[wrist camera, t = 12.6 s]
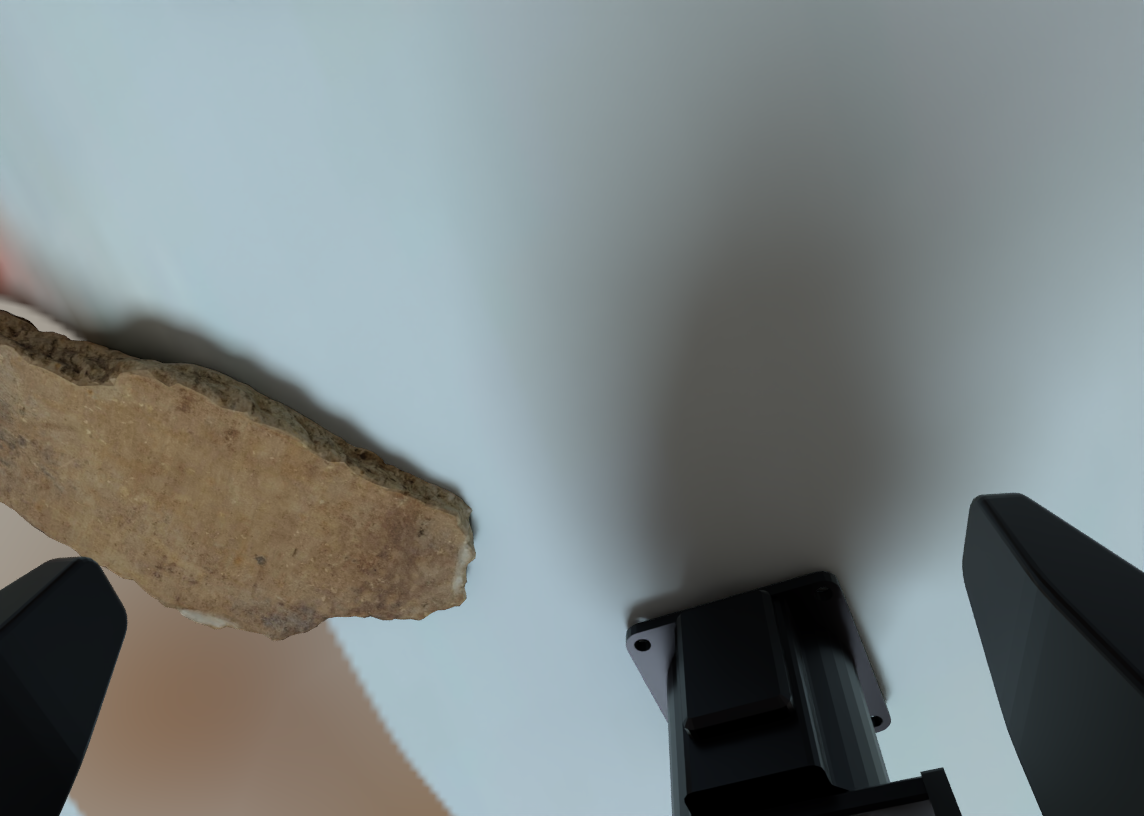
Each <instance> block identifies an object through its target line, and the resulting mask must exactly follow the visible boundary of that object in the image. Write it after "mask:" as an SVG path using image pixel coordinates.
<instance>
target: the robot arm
mask: <svg viewBox="0 0 1144 816" xmlns="http://www.w3.org/2000/svg"><path fill="white" fill-rule="evenodd" d="M962 569H963V577H964V583H965V587H966V590H967V594H968V597H969V601H970V604H971V607H972V611H973V614H974V618H975V621H976V625H977V628H978V632H979V635H980V638H981V642H982V645H983V649H984V652H985V656H986V659H987V663H988V666H989V670H990V673H991V676H992V680H993V683H994V687H995V690H996V694H997V697H998V701H999V704H1000V707H1001V711H1002V714H1003V717H1004V720H1005V723H1006V726H1007V730H1008V732H1009V735H1010V738H1011V740H1012V743H1013V745H1014V748H1015V750H1016V753H1017V756H1018V758H1019V760H1020V763H1021V765H1022V767H1023V770H1024V772H1025V775H1026V777H1027V779H1028V782H1029V784H1030V786H1031V789H1032V791H1033V793H1034V796H1035V798H1036V801H1037V803H1038V805H1039V808H1040V810H1041V812H1042V815H1043V816H1144V572H1142V571H1141V570H1139V569H1138V568H1136V567H1135V566H1133V565H1132V564H1130V563H1129V562H1127V561H1126V560H1124V559H1122V558H1121V557H1119V556H1118V555H1116V554H1115V553H1113V552H1112V551H1110V550H1109V549H1107V548H1106V547H1104V546H1102V545H1101V544H1099V543H1098V542H1096V541H1095V540H1093V539H1092V538H1090V537H1089V536H1087V535H1086V534H1084V533H1082V532H1081V531H1079V530H1078V529H1076V528H1075V527H1073V526H1072V525H1070V524H1069V523H1067V522H1066V521H1064V520H1062V519H1061V518H1059V517H1058V516H1056V515H1055V514H1053V513H1052V512H1050V511H1049V510H1047V509H1046V508H1044V507H1042V506H1041V505H1039V504H1038V503H1036V502H1035V501H1033V500H1032V499H1030V498H1029V497H1027V496H1025V495H1023V494H1020V493H1001V494H986V495H979V496H977V497H976V498H974V499H973V501H972V503H971V505H970V509H969V516H968V523H967V530H966V537H965V544H964V552H963V560H962ZM824 587H826V588H828V589H827V590H825V591H823V592H818V591H816V590H818V589H819V588H824ZM126 630H127V614H126V610H125V608H124V606H123V604H122V602H121V601H120V599H119V597H118V596H117V594H116V592H115V591H114V589H113V587H112V585H111V584H110V582H109V580H108V579H107V577H106V575H105V574H104V572H103V570H102V569H101V567H100V565H99V564H98V563H97V562H96V561H94V560H93V559H92V558H89V557H83V556H82V557H68V558H57V559H52V560H49V561H47V562H45V563H43V564H42V565H40V566H38V567H37V568H35V569H34V570H32V571H30V572H29V573H27V574H26V575H24V576H22V577H21V578H19V579H18V580H16V581H14V582H13V583H11V584H10V585H8V586H6V587H5V588H3V589H2V590H0V816H59V815H60V813H61V811H62V808H63V806H64V804H65V802H66V799H67V797H68V795H69V793H70V790H71V788H72V786H73V783H74V781H75V778H76V776H77V774H78V771H79V769H80V767H81V764H82V761H83V759H84V756H85V753H86V750H87V748H88V745H89V742H90V739H91V736H92V733H93V730H94V727H95V724H96V721H97V718H98V715H99V712H100V709H101V706H102V703H103V700H104V697H105V694H106V691H107V688H108V685H109V682H110V679H111V676H112V673H113V670H114V667H115V664H116V661H117V658H118V655H119V652H120V649H121V647H122V644H123V641H124V638H125V634H126ZM639 639H646V640H648V641H646V642H640V641H637V640H639ZM626 647H627V650H628V652H629V654H630V656H631V657H632V659H633V661H634V663H635V665H636V666H637V668H638V670H639V672H640V674H641V675H642V677H643V679H644V681H645V683H646V684H647V686H648V688H649V690H650V692H651V694H652V695H653V697H654V699H655V701H656V703H657V704H658V706H659V708H660V710H661V712H662V713H663V715H664V717H665V719H666V721H667V722H668V731H669V754H670V777H671V800H672V816H962V815H961V812H960V810H959V807H958V805H957V802H956V799H955V797H954V794H953V792H952V789H951V787H950V784H949V781H948V779H947V776H946V774H945V771H944V768H943V767H942V768H938V769H933V770H928V771H923V772H920V773H921V776H920V777H915V778H910V779H905V780H900V781H895V782H890V780H889V777H888V774H887V770H886V767H885V764H884V760H883V757H882V754H881V750H880V747H879V744H878V740H877V737H876V734H875V733H877V732H880V731H883V730H885V729H886V728H887V727H888V726H889V725H890V723H891V718H890V714H889V711H888V708H887V706H886V703H885V700H884V698H883V695H882V693H881V690H880V687H879V685H878V682H877V680H876V677H875V674H874V672H873V669H872V667H871V664H870V661H869V659H868V656H867V654H866V651H865V648H864V646H863V643H862V641H861V638H860V636H859V633H858V630H857V628H856V625H855V623H854V620H853V617H852V615H851V612H850V610H849V607H848V604H847V602H846V599H845V597H844V594H843V591H842V589H841V586H840V584H839V581H838V579H837V578H836V576H835V575H833V574H831V573H830V572H824V571H821V572H815V573H811V574H808V575H805V576H801V577H798V578H794V579H791V580H787V581H784V582H780V583H777V584H773V585H770V586H766V587H763V588H759V589H756V590H753V591H749V592H746V593H742V594H739V595H735V596H732V597H728V598H725V599H721V600H718V601H714V602H711V603H707V604H704V605H701V606H697V607H694V608H690V609H687V610H683V611H680V612H676V613H673V614H669V615H666V616H662V617H659V618H655V619H652V620H649V621H645V622H642V623H638V624H635V625H633V626H631V627H630V628H629V629H628V630H627V633H626ZM871 716H874V717H871Z"/></svg>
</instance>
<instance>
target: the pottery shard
mask: <svg viewBox="0 0 1144 816" xmlns="http://www.w3.org/2000/svg"><path fill="white" fill-rule="evenodd" d="M0 502H2V503H4V504H5V505H7V506H9V507H10V508H12V509H13V510H15V511H16V512H17V513H18V514H19V515H20V516H21V517H23V518H24V519H25V520H26V521H27V522H29V523H30V524H31V525H32V526H33V527H35V528H37V529H38V530H40V531H41V532H43V533H44V534H46V535H47V536H48V537H50V538H52V539H54V540H56V541H58V542H60V543H63V544H65V545H68V546H70V547H71V548H72V549H74V550H75V551H77V552H78V553H79V555H80V556H81V557H82V556H83V557H89V558H92V559H93V560H94V561H96V562H97V563H98V564H99V565H100V566H103V567H106V568H107V569H109V570H110V571H112V572H113V573H115V574H117V575H118V576H120V577H122V578H123V579H130V580H134V581H135V582H136V583H137V584H138V585H139V586H140V587H141V588H142V589H143V590H144V591H146V592H147V593H148V594H149V595H150V596H152V597H153V598H155V599H158V600H159V602H160V603H161V604H162V605H164V606H165V607H169V608H175V609H177V610H178V611H179V612H180V613H181V614H182V615H183V616H184V617H186V618H188V619H190V620H192V621H194V622H196V623H199V624H203V625H206V626H209V627H211V628H213V629H222V628H224V627H230V628H234V629H239V630H244V631H249V632H254V633H259V634H263V635H265V636H267V637H268V638H270V639H271V640H273V641H277V640H284V639H285V638H287V637H289V636H291V635H295V634H299V633H305V632H308V631H309V630H311V629H313V628H315V627H317V626H318V625H319V624H320V623H321V622H323V621H325V620H326V619H328V618H332V617H353V616H357V617H363V618H366V617H370V616H371V617H374V618H378V619H381V620H393V619H414V620H422V619H424V618H425V617H426V616H428V615H429V614H431V613H433V612H435V611H437V610H446V609H449V608H451V607H454V606H460V605H461V604H462V603H463V602H464V601H465V600H466V598H467V597H466V592H465V588H464V587H465V584H466V582H467V578H466V569H467V565H468V564H469V563H470V562H471V561H473V560H474V559H475V556H476V552H475V549H474V541H473V532H472V529H471V527H470V524H469V516H470V514H471V512H472V509H471V508H470V507H469V506H467V505H466V504H465V503H464V501H463V500H462V499H461V498H459V497H458V496H457V495H455V494H454V493H452V492H450V491H448V490H446V489H443V488H441V487H439V486H437V485H435V484H431V483H428V482H426V481H424V480H422V479H420V478H418V477H416V476H414V475H412V474H410V473H407V472H404V471H402V470H400V469H398V468H396V467H395V466H392V465H388V464H385V463H384V461H383V459H382V458H380V457H379V456H378V455H377V454H375V453H374V452H371V451H369V450H367V449H364V448H359V447H354V446H352V445H350V444H349V443H347V442H346V441H345V440H343V439H342V438H340V437H338V436H336V435H334V434H332V433H331V432H329V431H328V430H326V429H324V428H323V427H321V426H320V425H318V424H316V423H315V422H313V421H312V420H310V419H308V418H306V417H305V416H303V415H301V414H300V413H298V412H297V411H295V410H293V409H291V408H290V407H288V406H286V405H284V404H282V403H280V402H277V401H274V400H272V399H270V398H268V397H266V396H265V395H263V394H261V393H259V392H257V391H256V390H254V389H253V388H252V387H250V386H249V385H246V384H244V383H241V382H238V381H236V380H234V379H233V378H231V377H229V376H227V375H225V374H222V373H220V372H218V371H215V370H212V369H208V368H205V367H202V366H198V365H195V364H187V363H161V362H158V361H156V360H144V359H139V358H136V357H132V356H128V355H126V354H124V353H122V352H120V351H117V350H110V349H109V348H107V347H105V346H101V345H98V344H95V343H92V342H88V341H75V340H70V339H69V338H67V337H66V336H65V335H61V334H58V333H55V332H41V331H38V329H37V328H36V327H35V326H34V325H33V323H31V322H30V321H29V320H27V319H25V318H23V317H19V316H16V315H14V314H12V313H9V312H8V311H5V310H0Z"/></svg>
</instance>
